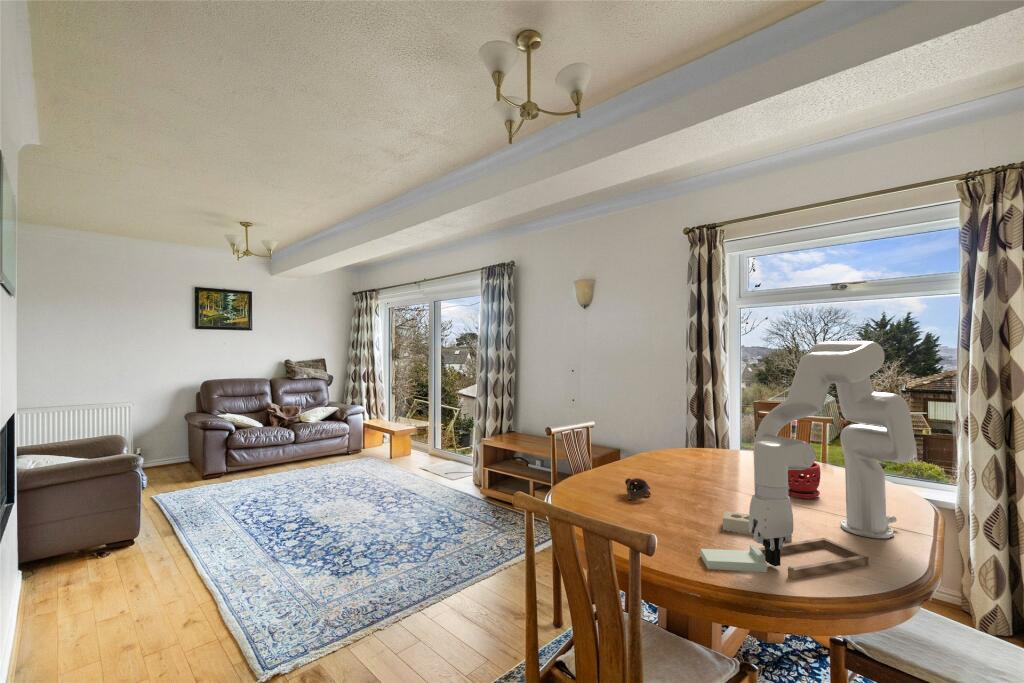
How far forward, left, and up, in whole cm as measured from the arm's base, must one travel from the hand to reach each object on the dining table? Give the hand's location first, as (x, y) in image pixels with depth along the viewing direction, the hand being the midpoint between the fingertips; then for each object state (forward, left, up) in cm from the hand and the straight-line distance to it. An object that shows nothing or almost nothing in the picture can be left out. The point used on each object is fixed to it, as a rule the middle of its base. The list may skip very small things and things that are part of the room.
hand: (772, 563), depth 116 cm
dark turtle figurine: (+4, -59, -1) cm, 59 cm away
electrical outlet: (-14, -20, -2) cm, 24 cm away
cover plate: (+8, -5, -1) cm, 9 cm away
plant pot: (-55, -42, -1) cm, 69 cm away
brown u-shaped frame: (-12, 0, -1) cm, 12 cm away
